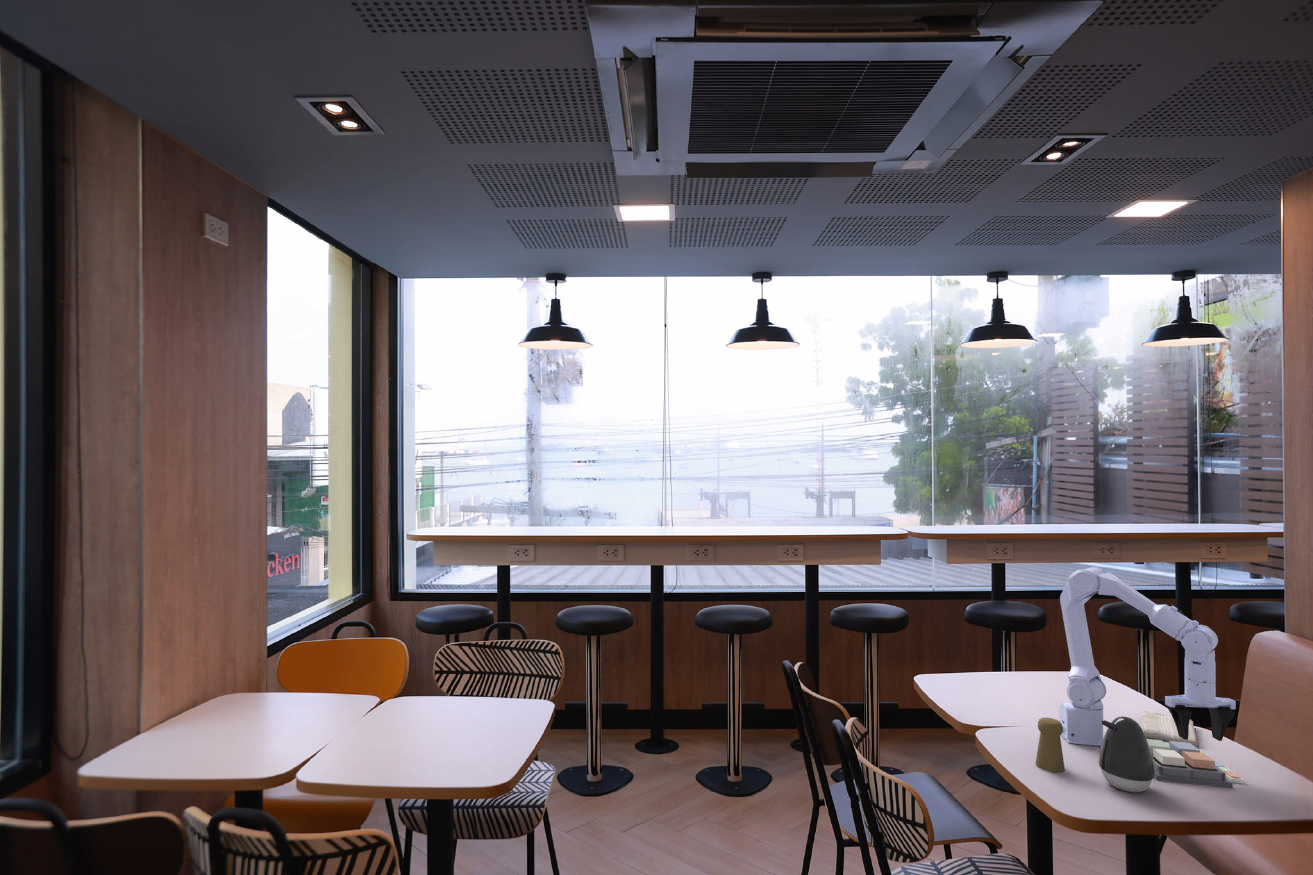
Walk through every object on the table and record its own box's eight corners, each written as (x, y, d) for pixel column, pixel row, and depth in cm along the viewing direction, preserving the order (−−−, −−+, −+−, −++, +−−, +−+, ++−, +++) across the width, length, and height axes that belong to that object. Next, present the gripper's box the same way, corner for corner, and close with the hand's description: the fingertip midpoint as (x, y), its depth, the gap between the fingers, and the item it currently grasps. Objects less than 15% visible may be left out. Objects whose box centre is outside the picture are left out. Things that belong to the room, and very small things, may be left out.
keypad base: (1156, 779, 158) (1156, 768, 158) (1126, 752, 173) (1126, 742, 173) (1232, 787, 155) (1232, 775, 155) (1195, 759, 170) (1195, 748, 170)
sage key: (1149, 753, 166) (1149, 745, 166) (1141, 746, 170) (1141, 738, 170) (1170, 755, 165) (1170, 747, 165) (1161, 747, 169) (1161, 740, 169)
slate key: (1178, 756, 164) (1178, 748, 165) (1168, 748, 169) (1168, 740, 169) (1199, 758, 164) (1199, 750, 164) (1189, 750, 168) (1189, 742, 168)
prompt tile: (1231, 782, 158) (1231, 777, 158) (1208, 765, 166) (1208, 760, 166) (1243, 783, 157) (1243, 778, 157) (1219, 766, 166) (1219, 761, 166)
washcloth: (1192, 728, 191) (1192, 716, 192) (1199, 750, 176) (1199, 737, 176) (1139, 718, 198) (1139, 707, 198) (1141, 739, 183) (1141, 727, 183)
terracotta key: (1192, 766, 159) (1192, 758, 159) (1182, 758, 163) (1182, 751, 163) (1214, 769, 158) (1214, 760, 158) (1203, 760, 162) (1203, 753, 162)
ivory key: (1162, 764, 160) (1162, 756, 160) (1153, 756, 164) (1153, 748, 164) (1184, 766, 159) (1184, 758, 159) (1174, 758, 163) (1174, 750, 163)
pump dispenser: (1088, 775, 160) (1088, 708, 160) (1134, 777, 159) (1134, 709, 160) (1115, 797, 149) (1116, 725, 150) (1165, 798, 149) (1165, 726, 149)
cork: (1061, 763, 166) (1061, 716, 166) (1067, 774, 160) (1067, 725, 160) (1033, 759, 168) (1033, 713, 168) (1038, 770, 162) (1038, 721, 162)
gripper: (1179, 683, 159) (1180, 744, 159) (1245, 686, 159) (1246, 746, 158) (1158, 674, 166) (1159, 732, 166) (1222, 676, 166) (1222, 734, 165)
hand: (1200, 738), depth 162 cm, fingers open, 7 cm apart
